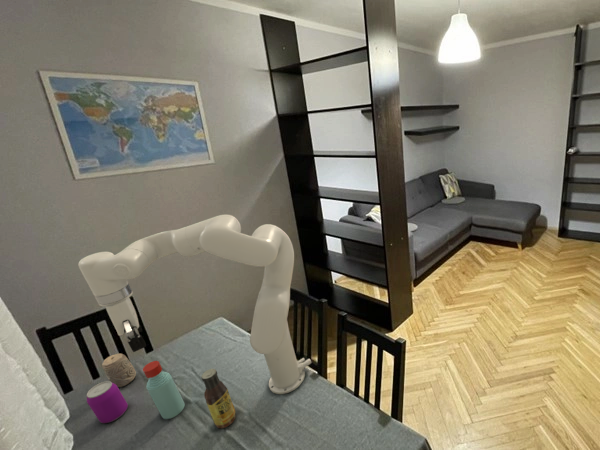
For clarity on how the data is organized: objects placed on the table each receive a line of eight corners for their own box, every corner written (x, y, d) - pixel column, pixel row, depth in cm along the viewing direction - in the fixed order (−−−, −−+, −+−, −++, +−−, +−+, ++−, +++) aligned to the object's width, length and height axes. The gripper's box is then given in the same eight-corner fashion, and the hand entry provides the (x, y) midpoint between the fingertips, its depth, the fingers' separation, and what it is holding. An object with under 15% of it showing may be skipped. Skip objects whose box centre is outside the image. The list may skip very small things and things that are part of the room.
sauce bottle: (228, 431, 98) (208, 385, 90) (211, 428, 99) (190, 382, 92) (241, 411, 104) (224, 367, 96) (225, 409, 105) (206, 365, 98)
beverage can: (96, 429, 102) (79, 403, 98) (104, 410, 109) (88, 385, 104) (125, 417, 105) (110, 392, 101) (131, 400, 112) (117, 375, 107)
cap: (147, 380, 97) (143, 373, 96) (145, 372, 100) (142, 366, 99) (163, 372, 100) (160, 365, 99) (161, 365, 103) (158, 358, 102)
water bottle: (182, 397, 111) (162, 356, 103) (186, 409, 106) (165, 366, 99) (160, 410, 107) (137, 368, 99) (163, 423, 102) (140, 379, 95)
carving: (110, 387, 118) (95, 363, 113) (131, 372, 124) (119, 348, 120) (119, 392, 115) (105, 368, 111) (141, 376, 122) (129, 352, 117)
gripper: (96, 288, 92) (120, 334, 99) (97, 313, 80) (124, 363, 87) (128, 278, 97) (149, 322, 103) (133, 299, 85) (157, 348, 91)
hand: (138, 340), depth 95 cm, fingers open, 9 cm apart
